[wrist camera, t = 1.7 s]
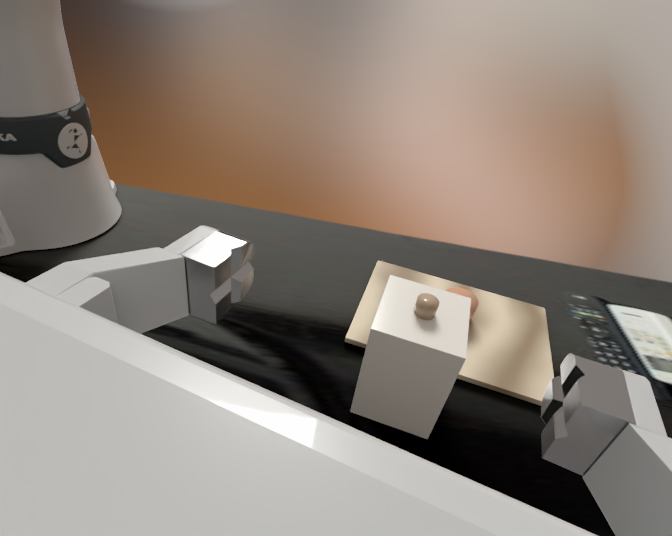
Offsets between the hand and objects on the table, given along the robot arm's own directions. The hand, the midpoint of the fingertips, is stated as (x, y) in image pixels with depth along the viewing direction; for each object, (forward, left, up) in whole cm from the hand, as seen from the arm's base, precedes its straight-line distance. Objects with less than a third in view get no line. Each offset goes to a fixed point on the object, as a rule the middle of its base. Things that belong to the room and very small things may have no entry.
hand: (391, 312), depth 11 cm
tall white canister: (+2, +16, -23) cm, 28 cm away
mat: (+6, +27, -23) cm, 36 cm away
